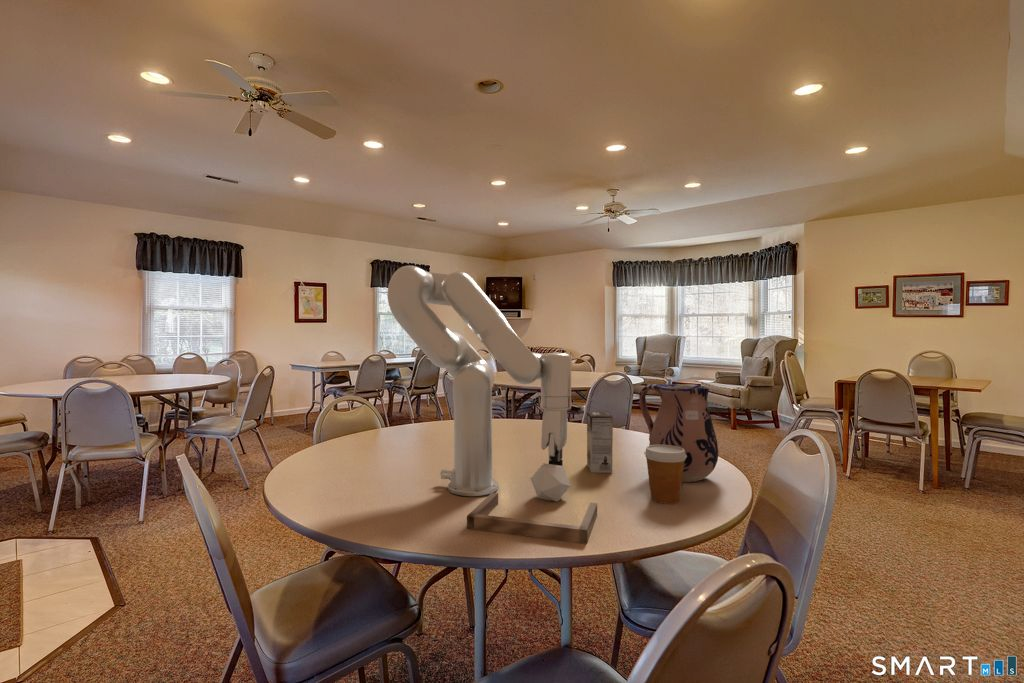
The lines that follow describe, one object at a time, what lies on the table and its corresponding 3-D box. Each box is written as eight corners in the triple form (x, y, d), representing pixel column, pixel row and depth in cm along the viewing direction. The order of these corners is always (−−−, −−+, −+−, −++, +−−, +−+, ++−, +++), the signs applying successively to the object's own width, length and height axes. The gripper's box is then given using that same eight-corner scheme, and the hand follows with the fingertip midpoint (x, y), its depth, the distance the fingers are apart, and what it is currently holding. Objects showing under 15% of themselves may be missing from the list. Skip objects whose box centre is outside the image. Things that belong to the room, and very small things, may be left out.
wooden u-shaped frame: (466, 528, 97) (466, 515, 97) (492, 503, 111) (492, 492, 111) (586, 543, 90) (586, 530, 90) (597, 514, 104) (597, 503, 104)
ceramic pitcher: (713, 492, 119) (713, 390, 119) (628, 479, 130) (629, 386, 129) (722, 474, 135) (722, 384, 134) (645, 464, 145) (645, 380, 145)
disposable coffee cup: (639, 492, 119) (640, 443, 119) (679, 493, 119) (679, 444, 118) (649, 506, 109) (649, 453, 109) (692, 506, 109) (692, 453, 109)
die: (575, 499, 116) (561, 461, 121) (572, 491, 109) (557, 452, 114) (543, 511, 116) (530, 473, 121) (538, 504, 109) (524, 464, 114)
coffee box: (586, 464, 145) (586, 410, 145) (607, 464, 145) (607, 410, 145) (590, 473, 136) (590, 415, 136) (613, 473, 136) (613, 415, 135)
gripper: (547, 398, 129) (547, 466, 129) (534, 406, 115) (533, 483, 115) (575, 399, 127) (575, 469, 127) (565, 407, 113) (565, 486, 113)
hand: (555, 475), depth 121 cm, fingers closed
